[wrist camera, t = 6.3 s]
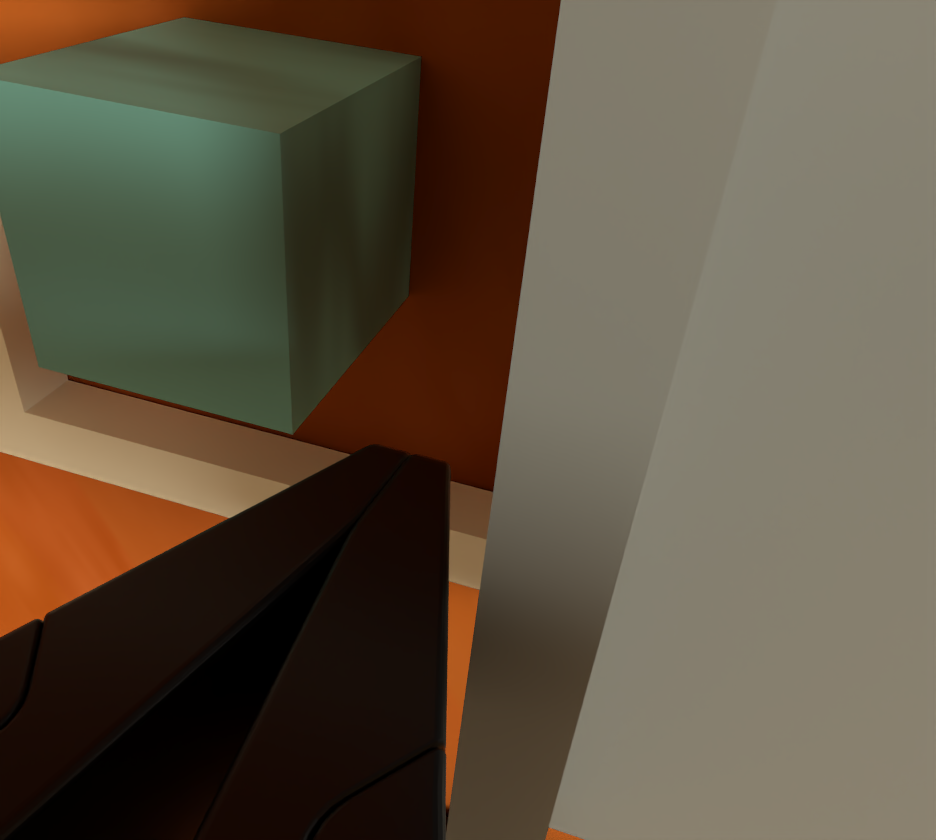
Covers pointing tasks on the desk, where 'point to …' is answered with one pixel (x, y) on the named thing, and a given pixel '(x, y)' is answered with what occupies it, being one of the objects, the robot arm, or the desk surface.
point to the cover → (718, 438)
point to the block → (210, 211)
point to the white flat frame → (171, 442)
